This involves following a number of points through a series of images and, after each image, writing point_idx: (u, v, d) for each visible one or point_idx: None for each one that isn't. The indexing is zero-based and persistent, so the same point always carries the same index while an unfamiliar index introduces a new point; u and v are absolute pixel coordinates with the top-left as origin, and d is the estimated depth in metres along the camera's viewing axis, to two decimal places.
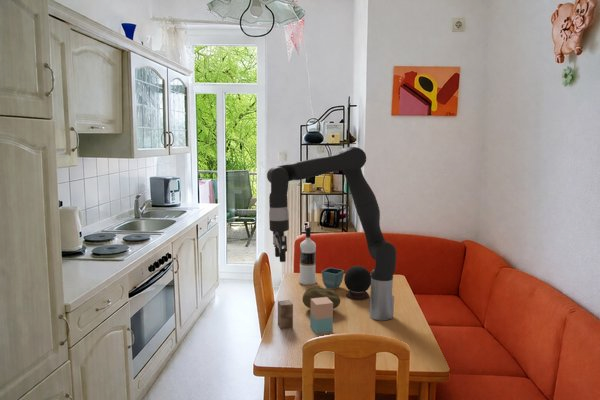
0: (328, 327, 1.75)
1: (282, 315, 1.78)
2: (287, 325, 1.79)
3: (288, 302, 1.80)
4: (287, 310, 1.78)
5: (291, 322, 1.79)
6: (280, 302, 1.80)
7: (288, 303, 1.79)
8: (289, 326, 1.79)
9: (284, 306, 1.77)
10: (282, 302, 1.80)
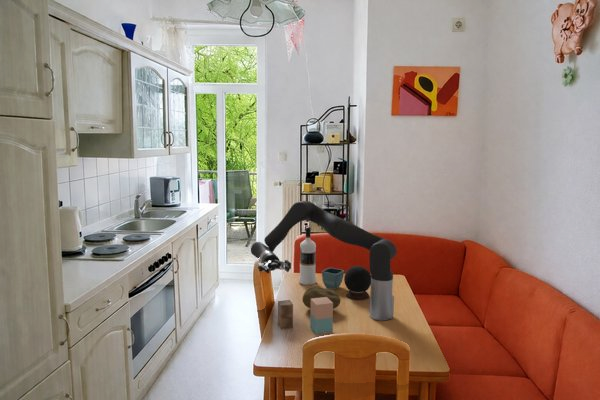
0: (328, 327, 1.75)
1: (282, 315, 1.78)
2: (287, 325, 1.79)
3: (288, 302, 1.80)
4: (287, 310, 1.78)
5: (291, 322, 1.79)
6: (280, 302, 1.80)
7: (288, 303, 1.79)
8: (289, 326, 1.79)
9: (284, 306, 1.77)
10: (282, 302, 1.80)
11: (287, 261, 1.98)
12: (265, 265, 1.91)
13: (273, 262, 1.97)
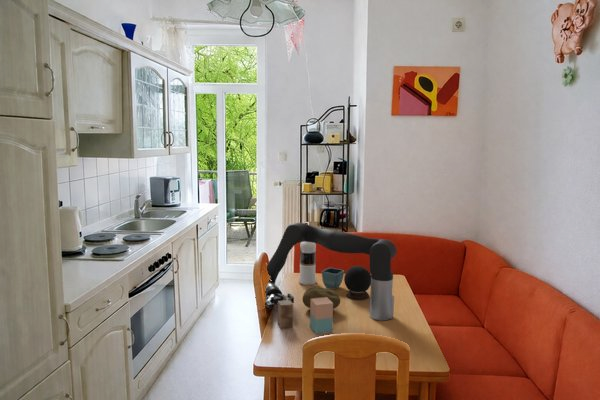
0: (328, 327, 1.75)
1: (282, 315, 1.78)
2: (287, 325, 1.79)
3: (288, 302, 1.80)
4: (287, 310, 1.78)
5: (291, 322, 1.79)
6: (280, 302, 1.80)
7: (288, 303, 1.79)
8: (289, 326, 1.79)
9: (284, 306, 1.77)
10: (282, 302, 1.80)
11: (290, 295, 1.97)
12: (268, 300, 1.90)
13: (276, 296, 1.95)
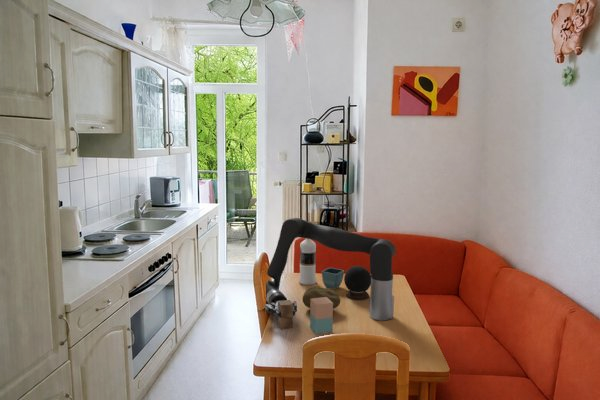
0: (327, 327, 1.75)
1: (282, 315, 1.78)
2: (287, 325, 1.79)
3: (288, 302, 1.80)
4: (287, 310, 1.78)
5: (291, 322, 1.79)
6: (280, 302, 1.80)
7: (288, 303, 1.79)
8: (289, 326, 1.79)
9: (284, 306, 1.77)
10: (282, 302, 1.80)
11: (295, 303, 1.87)
12: (277, 308, 1.81)
13: None
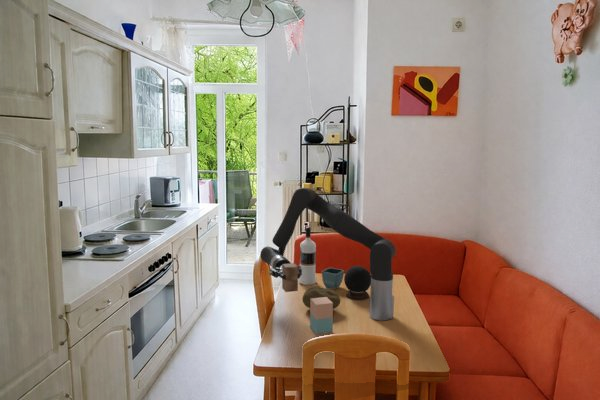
0: (327, 327, 1.75)
1: (287, 277, 1.75)
2: (292, 288, 1.76)
3: (293, 264, 1.78)
4: (292, 273, 1.75)
5: (296, 285, 1.77)
6: (285, 265, 1.77)
7: (293, 265, 1.76)
8: (294, 289, 1.77)
9: (289, 268, 1.75)
10: (287, 265, 1.77)
11: (299, 267, 1.85)
12: (281, 271, 1.78)
13: None
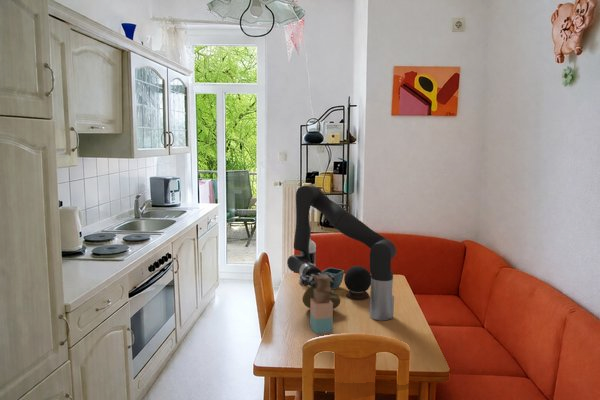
0: (327, 327, 1.75)
1: (319, 289, 1.73)
2: (324, 299, 1.75)
3: (325, 276, 1.76)
4: (325, 284, 1.74)
5: (328, 296, 1.75)
6: (317, 276, 1.76)
7: (325, 277, 1.75)
8: (326, 300, 1.75)
9: (321, 280, 1.73)
10: (319, 276, 1.76)
11: (331, 275, 1.83)
12: (310, 279, 1.76)
13: None
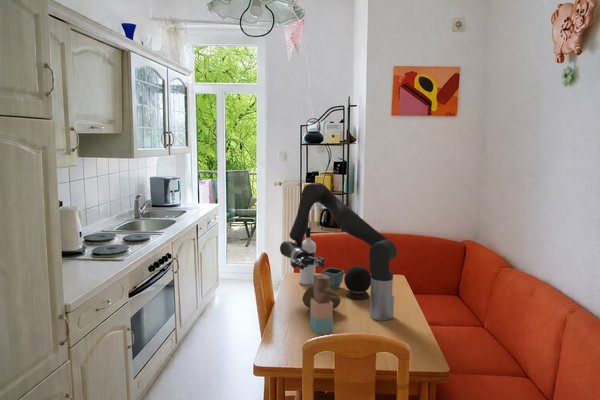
0: (328, 327, 1.75)
1: (319, 289, 1.73)
2: (324, 299, 1.75)
3: (325, 276, 1.76)
4: (325, 284, 1.74)
5: (328, 296, 1.75)
6: (317, 276, 1.76)
7: (325, 277, 1.75)
8: (326, 300, 1.75)
9: (321, 280, 1.73)
10: (319, 276, 1.76)
11: (320, 257, 1.96)
12: (299, 261, 1.89)
13: (306, 258, 1.94)
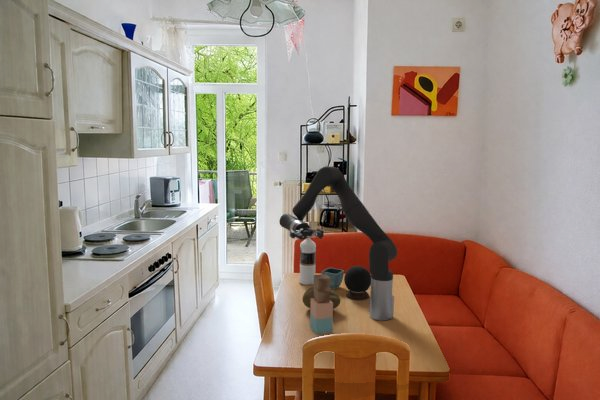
0: (328, 327, 1.75)
1: (319, 289, 1.73)
2: (324, 299, 1.75)
3: (325, 276, 1.76)
4: (325, 284, 1.74)
5: (328, 296, 1.75)
6: (317, 276, 1.76)
7: (325, 277, 1.75)
8: (326, 300, 1.75)
9: (321, 279, 1.73)
10: (319, 276, 1.76)
11: (319, 229, 1.96)
12: (298, 232, 1.89)
13: (305, 230, 1.94)
